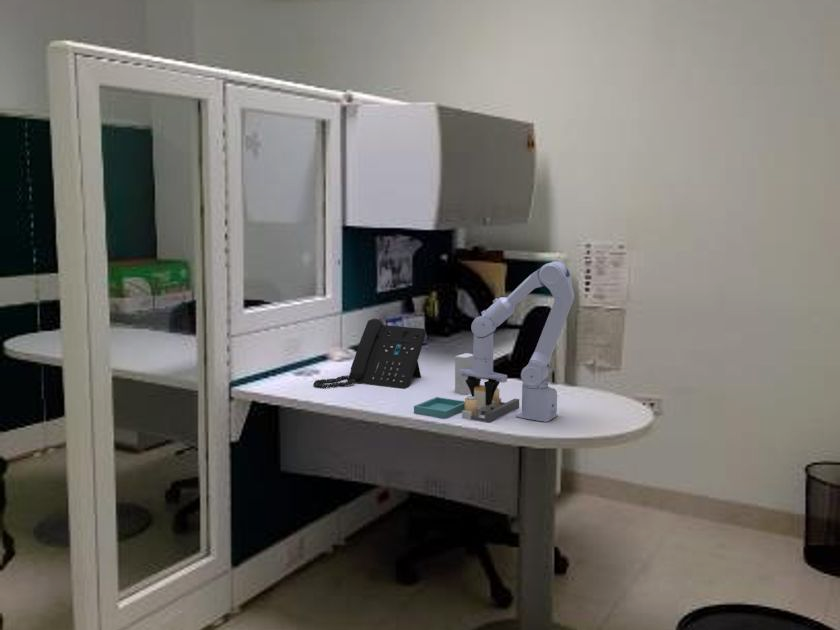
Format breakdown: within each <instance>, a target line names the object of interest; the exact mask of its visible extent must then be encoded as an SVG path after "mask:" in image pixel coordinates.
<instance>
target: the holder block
mask: <svg viewBox="0 0 840 630" xmlns="http://www.w3.org/2000/svg"><path fill="white" fill-rule="evenodd" d="M517 409H520V399H519V398H513V399H511V400H509V401H506V402H504V401H502V397H499V406H498V407H495V401H492V404H491V410H490V411H488V412H487V411H483V407H482V406H477V417H475V416H472V412H471V411H465V410H463V411H462V412H461V418H462V419H467V420H471V421H472V420H473V421H478V422H482V423H483V422H484V423H489V424H490V423H491V422H493V421H496V420H498V419H499V418H501V417H504V416H505V415H507V414H509V413H511V412H513V411H515V410H517ZM480 415H484V417H480Z"/></svg>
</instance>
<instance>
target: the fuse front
mask: <svg viewBox="0 0 840 630" xmlns="http://www.w3.org/2000/svg"><path fill="white" fill-rule="evenodd" d="M464 401H465V411H471V412H472V416H475V417H478V416H477V403H478V399H476V398H475V397H474V396H472V395H471V396H470V395H469V396H468V395H467V396H466V398H464Z"/></svg>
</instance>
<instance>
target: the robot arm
mask: <svg viewBox="0 0 840 630" xmlns="http://www.w3.org/2000/svg"><path fill="white" fill-rule="evenodd" d="M544 286H545V287H546V288H547V289H548V290H549V292H550V293H551V296H552V297H553V299H554V301H553V304H552V306H551V308H550V312H549V314H548V316H547V319H546V321H545V324H544V325H543V329H542V331H541V334H540V337H539V339H538V342H537V344H536V347H535V349H534V352H533V353H532V355H531V357H530V359H529V362H528V364H527V365H526V366H524V367H523V368H522V369H521V372H520V379H521V382H522V386H521V412H519V413H518V414H516V415H515V417H516V418H520V419H525V420H526V419H527V420H533V421H539V422H543V423H544V422H545V423H547V422H549V421H551V420H553V419H554V418H556V417H557V416H558V415H559V414H558V413H557V412H558V411H557V410H558V392H557V389H556V388H554V387H550V386H549V383H548V381H547V378H548V377H549V376H550V364H551V361H552V355H553V353H554V350H555V348H556V345H557V343H558V340H559V338H560V336H561V332H562V330H563V328H564V325H565V323H566V320H567V318H568V315H569V313H570V309H571V307H572V305H573V303H574V299H575V292H574V287H573V281H572V273H571V271H570V269H569V268H568V267H567V265H566V264H565V263H564V262H563V261H560V260H553V261H550V262H549V263H548V262H547V263H545V264H543V265H542V266H541V267H540V268H538V269H537V270H536V271H534V272H532V273H531V274H529V276H528V277H526V278H525V279H524V280H523V281H522V282H521V283H520V284H519V285H518V286H517V287H516V288H515V289H514V290H513V291H512V292H511V293H510V294H508V296H507V297H503V296H501V297H499V298H497V297H496V298H495V299H493V300H492V304H491V305H490V306H489V307H488V308H487V309H484V310H483V311H480V313H481V316H478V317H475V318H474V320H473V321H472V323H471V327H470V328H471V332H472V334H473V342H472V343H473V346H472V348H473V349H472V354H473V370H469V369H461V370H459V376H460V377H463V376H464V377H468V378H467V380H466V383H467V385H468V387H469V389H470V392H471V393H470V394H471V396H474V387H476V386H478V385H481V381H482V380H484V381H483V382H484V383H483V385H485V389H486V405H491V404H492V399H493V396H494V393H495V390H496V388H497V387H499V385H500V383H507V382H508V375H507V374H504V373H500V372H499V373H498V372H497V371H496V372H495V371H494V333H495V331H496V329H497V327H499V326H500V325H502V324H503V323H504V322H505V321H506V320H507V319H509V317H511V316H512V315H513V314H514V313H515V307H516V305H517V304H518V303H519V302H521V301H522V300H523V299H524V298H525V297H527V296H528V295H529V294H530V293H531V292H532V291H534V290H535V289H537V288H542V287H544ZM485 380H486V381H485Z"/></svg>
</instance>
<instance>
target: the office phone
mask: <svg viewBox="0 0 840 630" xmlns="http://www.w3.org/2000/svg"><path fill="white" fill-rule="evenodd" d="M382 322H383V321H381V319H379V318H373V319H372V318H371V319H369V320H367V323H366V325H365V327H364V330H363V333H362V335H361V338H360V342H359V344H358V345H357V349H356V352H355V355H354V357H353V361H352V363H351V367H350V373H349V375H348V374H347V375H341V376H337V377H336V378H335V377H333V378H327V379H325V378H322V379H316V380H315V381H314V382H313V387H314V388H317V387H318V388H319V387H321V388H319V389H327V388H328V387H333V386H334V387H333V388H336V387H335V386H340V387H341V386H342V387H347V386H348V387H349V386H351V385H353V384H356V383H355V382H358V383H357V384H362V383H368V384H367V385H373V384H377V385H376V386H381V385H383V387H388V386H391V387H390V388H396V387H398V388H399V389H405V390H406V389H407V388H409V387H411V383H412V380H413V378H422V374H421V370H420V365H419V362H418V360H419V359H420V358H419V357H420V355H421V351H422V349H423V348H422V347H423V344H424V341H425V338H426V335H427V333H426V330H425V328H421V327H409V326H397V325H389V324H388V325H385V324H383V323H382ZM344 379H345V380H347V381H345V382H344ZM340 380H341V381H342V382H341V381H340ZM338 381H339V382H338ZM332 382H334V383H332ZM322 383H324V384H322ZM326 387H327V388H326ZM318 388H317V389H318ZM398 388H397V389H398Z"/></svg>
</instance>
